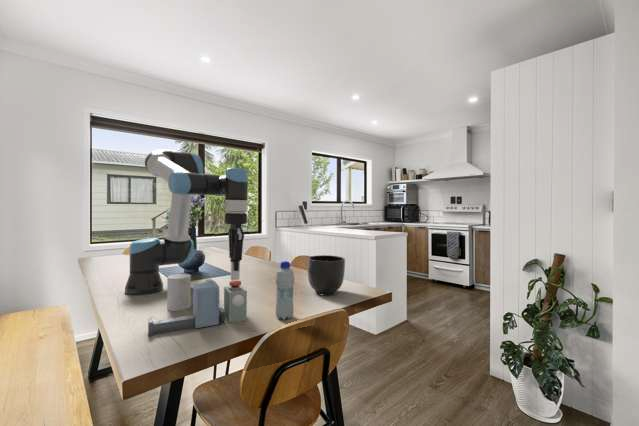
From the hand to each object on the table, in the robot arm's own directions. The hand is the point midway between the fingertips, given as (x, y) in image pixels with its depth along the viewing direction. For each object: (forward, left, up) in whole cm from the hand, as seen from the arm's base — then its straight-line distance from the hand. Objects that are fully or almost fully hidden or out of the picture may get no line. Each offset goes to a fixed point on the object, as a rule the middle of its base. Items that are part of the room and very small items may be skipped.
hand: (235, 279), depth 108 cm
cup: (-20, -16, -14) cm, 29 cm away
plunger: (0, 0, -9) cm, 9 cm away
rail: (+2, -15, -13) cm, 21 cm away
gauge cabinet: (0, 0, -13) cm, 13 cm away
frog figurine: (-33, -4, -14) cm, 36 cm away
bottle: (+8, +16, -14) cm, 22 cm away
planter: (-13, +45, -14) cm, 48 cm away
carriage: (+2, -10, -13) cm, 17 cm away
